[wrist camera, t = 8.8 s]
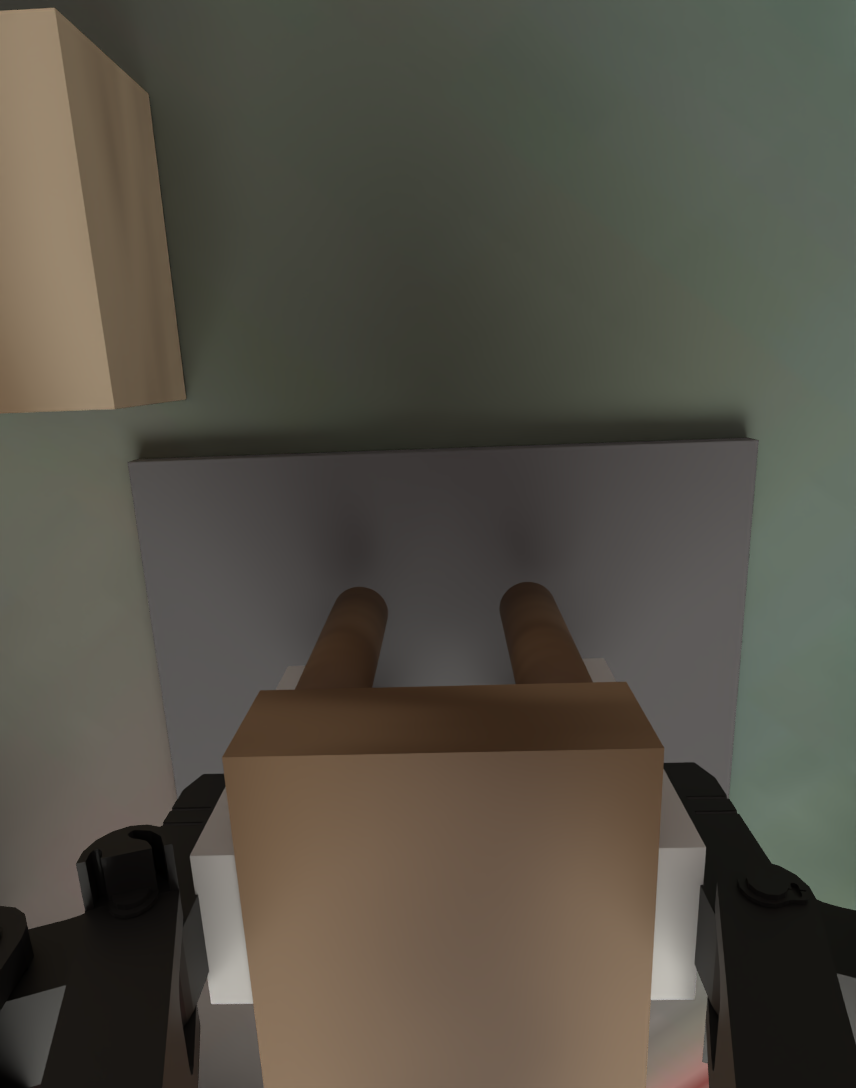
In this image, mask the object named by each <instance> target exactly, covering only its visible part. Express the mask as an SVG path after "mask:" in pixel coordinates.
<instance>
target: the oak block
mask: <svg viewBox="0 0 856 1088" xmlns="http://www.w3.org/2000/svg"><path fill="white" fill-rule="evenodd" d="M178 400H186V393H185V385H184V377H183V369H182V360H181V352H180V344H179V336H178V328H177V320H176V312H175V304H174V296H173V288H172V280H171V272H170V263H169V255H168V247H167V239H166V231H165V223H164V215H163V207H162V199H161V191H160V183H159V175H158V166H157V158H156V150H155V142H154V134H153V126H152V118H151V110H150V102H149V94H148V93H147V92H146V91H145V90H144V89H143V88H142V87H140V86H139V85H138V84H137V83H136V82H135V81H134V80H133V79H132V78H131V77H130V76H128V75H127V74H126V73H125V72H124V71H123V70H122V69H121V68H120V67H119V66H118V65H116V64H115V63H114V62H113V61H112V60H111V59H110V58H109V57H108V56H107V55H106V54H104V53H103V52H102V51H101V50H100V49H99V48H98V47H97V46H96V45H95V44H94V43H93V42H91V41H90V40H89V39H88V38H87V37H86V36H85V35H84V34H83V33H82V32H81V31H79V30H78V29H77V28H76V27H75V26H74V25H73V24H72V23H71V22H70V21H69V20H67V19H66V18H65V17H64V16H63V15H62V14H61V13H60V12H59V11H58V10H57V9H55V8H41V9H23V10H6V11H0V413H23V412H50V411H77V410H104V409H119V408H127V407H134V406H141V405H149V404H156V403H164V402H171V401H178Z"/></svg>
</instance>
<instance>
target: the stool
mask: <svg viewBox="0 0 856 1088" xmlns="http://www.w3.org/2000/svg"><path fill="white" fill-rule="evenodd" d="M499 610H500V616H501V621H502V625H503V630H504V634H505V639H506V643H507V648H508V652H509V657H510V661H511V666H512V670H513V675H514V679H515V683H516V684H506V685H464V686H422V687H381V688H372V687H373V682H374V678H375V673H376V669H377V664H378V660H379V655H380V651H381V646H382V642H383V637H384V633H385V628H386V624H387V619H388V608H387V605H386V602H385V601H384V599H383V598H382V596H381V595H380V594H378V593H377V592H376V591H374V590H372V589H370V588H367V587H353V588H350V589H347V590H345V591H344V592H342V593H341V594H340V595H339V596H338V598H337V599H336V601H335V603H334V605H333V607H332V610H331V612H330V614H329V616H328V618H327V620H326V623H325V625H324V627H323V629H322V631H321V633H320V636H319V638H318V640H317V642H316V644H315V647H314V649H313V651H312V653H311V655H310V657H309V660H308V662H307V664H306V666H305V668H304V670H303V673H302V675H301V677H300V679H299V681H298V683H297V686H296V688H295V690H260V691H259V693H258V695H257V696H256V698H255V700H254V702H253V704H252V705H251V707H250V709H249V711H248V712H247V714H246V716H245V718H244V719H243V721H242V723H241V725H240V726H239V728H238V730H237V732H236V734H235V735H234V737H233V739H232V741H231V742H230V744H229V746H228V748H227V749H226V751H225V753H224V755H223V757H222V762H223V769H224V777H225V785H226V793H227V801H228V809H229V817H230V824H231V832H232V840H233V848H234V856H235V864H236V872H237V879H238V887H239V895H240V903H241V911H242V919H243V927H244V934H245V942H246V950H247V958H248V966H249V974H250V982H251V989H252V997H253V1005H254V1013H255V1021H256V1029H257V1037H258V1044H259V1052H260V1060H261V1068H262V1076H263V1084H264V1088H646V1074H647V1056H648V1038H649V1020H650V1002H651V983H652V965H653V947H654V929H655V911H656V893H657V875H658V857H659V839H660V821H661V803H662V784H663V766H664V746H663V745H662V743H661V741H660V740H659V738H658V736H657V734H656V733H655V731H654V729H653V727H652V726H651V724H650V722H649V720H648V719H647V717H646V715H645V713H644V712H643V710H642V708H641V706H640V705H639V703H638V701H637V699H636V698H635V696H634V694H633V692H632V691H631V689H630V687H629V686H628V684H627V682H593V681H592V679H591V677H590V675H589V673H588V670H587V668H586V666H585V664H584V662H583V660H582V658H581V655H580V653H579V651H578V649H577V647H576V645H575V643H574V640H573V638H572V636H571V634H570V632H569V630H568V628H567V626H566V623H565V621H564V619H563V617H562V615H561V613H560V611H559V608H558V606H557V604H556V602H555V600H554V598H553V596H552V594H551V593H550V591H549V590H548V589H547V588H545V587H544V586H542V585H540V584H538V583H534V582H522V583H519V584H516V585H514V586H512V587H511V588H509V589H508V590H507V591H506V592H505V594H504V595H503V597H502V599H501V602H500V607H499Z"/></svg>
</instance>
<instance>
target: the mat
mask: <svg viewBox="0 0 856 1088" xmlns="http://www.w3.org/2000/svg"><path fill="white" fill-rule="evenodd" d="M758 441H759V440H755V439H751V438H728V439H699V440H671V441H642V442H614V443H585V444H556V445H528V446H499V447H471V448H442V449H414V450H385V451H357V452H328V453H299V454H271V455H242V456H214V457H185V458H157V459H137V460H133V461H130V462H128V469H129V475H130V482H131V489H132V496H133V502H134V509H135V516H136V523H137V529H138V536H139V543H140V550H141V556H142V563H143V570H144V577H145V583H146V590H147V597H148V603H149V610H150V617H151V624H152V630H153V637H154V644H155V651H156V657H157V664H158V671H159V678H160V684H161V691H162V698H163V705H164V711H165V718H166V725H167V732H168V738H169V745H170V752H171V759H172V765H173V772H174V779H175V786H176V792H177V799H178V797H179V796H180V794H181V793H182V791H183V790H184V789H185V788H186V787H187V786H189V785H190V784H191V783H192V782H194V781H195V780H196V779H197V778H199V777H200V776H201V775H202V774H224V769H223V762H222V757H223V755H224V753H225V751H226V749H227V748H228V746H229V744H230V742H231V741H232V739H233V737H234V735H235V734H236V732H237V730H238V728H239V726H240V725H241V723H242V721H243V719H244V718H245V716H246V714H247V712H248V711H249V709H250V707H251V705H252V704H253V702H254V700H255V698H256V696H257V695H258V693H259V691H260V690H276V688H277V686H278V684H279V682H280V680H281V679H282V677H283V675H284V673H285V671H286V669H287V667H288V666H306V664H307V662H308V660H309V657H310V655H311V653H312V651H313V649H314V647H315V644H316V642H317V640H318V638H319V636H320V633H321V631H322V629H323V627H324V625H325V623H326V620H327V618H328V616H329V614H330V612H331V610H332V607H333V605H334V603H335V601H336V599H337V598H338V596H339V595H340V594H341V593H342V592H344V591H345V590H347V589H350V588H353V587H367V588H370V589H372V590H374V591H376V592H377V593H378V594H380V595H381V596H382V598H383V599H384V601H385V602H386V605H387V608H388V619H387V624H386V628H385V633H384V637H383V642H382V646H381V651H380V655H379V660H378V664H377V669H376V673H375V678H374V682H373V687H372V688H381V687H422V686H464V685H506V684H516V683H515V679H514V675H513V670H512V666H511V661H510V657H509V652H508V648H507V643H506V639H505V634H504V630H503V625H502V621H501V616H500V610H499V607H500V602H501V599H502V597H503V595H504V594H505V592H506V591H507V590H508V589H509V588H511V587H512V586H514V585H516V584H519V583H522V582H534V583H538V584H540V585H542V586H544V587H545V588H547V589H548V590H549V591H550V593H551V594H552V596H553V598H554V600H555V602H556V604H557V606H558V608H559V611H560V613H561V615H562V617H563V619H564V621H565V623H566V626H567V628H568V630H569V632H570V634H571V636H572V638H573V640H574V643H575V645H576V647H577V649H578V651H579V653H580V655H581V658H582V659H591V658H604V660H605V661H606V663H607V665H608V667H609V669H610V671H611V673H612V674H613V676H614V678H615V680H616V682H627V684H628V686H629V687H630V689H631V691H632V692H633V694H634V696H635V698H636V699H637V701H638V703H639V705H640V706H641V708H642V710H643V712H644V713H645V715H646V717H647V719H648V720H649V722H650V724H651V726H652V727H653V729H654V731H655V733H656V734H657V736H658V738H659V740H660V741H661V743H662V745H663V746H664V763H679V762H695V763H696V764H697V765H699V766H700V767H702V768H703V769H704V770H706V771H707V772H708V773H710V774H711V775H712V776H714V777H715V778H716V779H717V781H718V783H719V784H720V786H721V787H722V789H723V790H724V792H725V793H726V795H727V799H729V789H730V777H731V765H732V753H733V741H734V729H735V717H736V705H737V693H738V681H739V669H740V657H741V645H742V633H743V621H744V609H745V597H746V585H747V573H748V561H749V549H750V537H751V525H752V513H753V501H754V489H755V477H756V465H757V453H758Z"/></svg>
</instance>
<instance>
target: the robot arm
mask: <svg viewBox="0 0 856 1088" xmlns="http://www.w3.org/2000/svg"><path fill="white" fill-rule="evenodd" d="M582 660H583V662H584V664H585V666H586V668H587V670H588V673H589V675H590V677H591V679H592V681H593V682H616V680H615V678H614V676H613V674H612V673H611V671H610V669H609V667H608V665H607V663H606V661H605V660H604V658H591V659H582ZM304 668H305V666H288V667H287V669H286V671H285V673H284V675H283V677H282V679H281V680H280V682H279V684H278V686H277V688H276V690H295V688H296V686H297V683H298V681H299V679H300V677H301V675H302V673H303V670H304ZM76 866H77V871H78V876H79V881H80V886H81V892H82V897H83V902H84V907H85V914H83V915H80V916H77V917H74V918H71V919H68V920H64V921H60V922H56V923H52V924H48V925H44V926H40V927H36V928H32V929H29V930H28V927H27V922H26V918H25V914H24V913H22V912H21V911H20V910H18V909H17V908H14V907H4V906H0V1088H198V1075H199V1048H200V1021H199V1015H198V1008H197V1002H198V999H199V997H200V994H201V991H202V989H203V986H204V984H205V981H206V978H208V985H209V992H210V998H211V1004H253V997H252V989H251V982H250V974H249V966H248V958H247V950H246V942H245V934H244V927H243V919H242V911H241V903H240V895H239V887H238V879H237V872H236V864H235V856H234V848H233V840H232V832H231V824H230V817H229V809H228V801H227V793H226V785H225V777H224V774H202V775H201V776H200V777H199V778H197V779H196V780H195V781H194V782H192V783H191V784H190V785H189V786H187V787H186V788H185V789H184V790H183V791H182V793H181V794H180V796H179V797H178V799H177V801H176V802H175V804H174V806H173V807H172V811H170V812H169V814H168V815H167V817H166V819H165V820H164V822H163V826H161V827H157V826H152V825H137V826H129V827H126V828H123V829H119V830H116V831H113V832H111V833H109V834H107V835H105V836H103V837H101V838H100V839H98V840H96V841H95V842H94V843H92V844H91V845H90V846H89V847H88V848H87V849H86V850H84V851H83V853H82V854H81V856H80V858H79V860H78V861H77V863H76ZM697 971H698V974H699V976H700V978H701V981H702V983H703V986H704V988H705V990H706V993H707V995H708V999H707V1011H706V1024H705V1036H704V1048H703V1060H702V1062H704V1063H708V1073H709V1088H856V910H851V909H846V908H842V907H838V906H834V905H831V904H827V903H824V902H821V901H819V900H817V899H816V898H815V896H814V894H813V892H812V891H811V889H810V887H809V886H808V885H807V884H806V883H804V882H803V881H802V880H801V879H800V878H799V877H798V876H797V875H795V874H793V873H791V872H790V871H788V870H786V869H784V868H782V867H780V866H778V865H775V864H771V862H770V860H769V859H768V857H767V856H766V854H765V853H764V851H763V850H762V848H761V847H760V845H759V844H758V842H757V841H756V839H755V838H754V836H753V834H752V833H751V831H750V830H749V828H748V827H747V825H746V824H745V822H744V821H743V819H742V818H741V816H740V815H739V814H737V810H736V809H735V807H734V805H733V804H732V802H731V801H730V799H727V795H726V793H725V792H724V790H723V789H722V787H721V786H720V784H719V783H718V781H717V779H716V778H715V777H714V776H712V775H711V774H710V773H708V772H707V771H706V770H704V769H703V768H702V767H700V766H699V765H697V764H696V763H695V762H679V763H664V766H663V784H662V803H661V821H660V839H659V857H658V875H657V893H656V911H655V929H654V947H653V965H652V983H651V1000H695V988H696V975H697Z"/></svg>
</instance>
